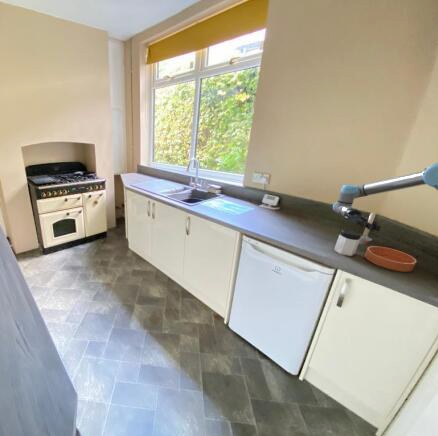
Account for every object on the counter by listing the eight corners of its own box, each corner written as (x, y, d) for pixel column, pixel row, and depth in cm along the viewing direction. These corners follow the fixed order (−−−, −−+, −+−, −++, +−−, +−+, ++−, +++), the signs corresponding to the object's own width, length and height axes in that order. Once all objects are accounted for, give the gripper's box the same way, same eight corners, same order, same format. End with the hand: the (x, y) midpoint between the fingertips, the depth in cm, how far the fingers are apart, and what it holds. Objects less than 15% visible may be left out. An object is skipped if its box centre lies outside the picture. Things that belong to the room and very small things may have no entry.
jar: (330, 248, 132) (337, 228, 127) (344, 248, 132) (351, 228, 127) (343, 256, 123) (351, 235, 119) (358, 256, 124) (366, 235, 119)
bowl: (408, 262, 119) (412, 253, 117) (415, 277, 106) (420, 268, 104) (363, 251, 129) (366, 243, 127) (364, 264, 116) (368, 255, 115)
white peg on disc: (369, 242, 131) (381, 212, 125) (370, 246, 127) (382, 215, 120) (354, 239, 135) (365, 209, 129) (355, 243, 130) (366, 212, 124)
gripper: (363, 220, 143) (390, 236, 122) (335, 218, 146) (356, 233, 125) (367, 209, 140) (395, 223, 119) (338, 207, 144) (361, 220, 122)
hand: (375, 228), depth 122 cm, fingers closed on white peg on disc, 2 cm apart
